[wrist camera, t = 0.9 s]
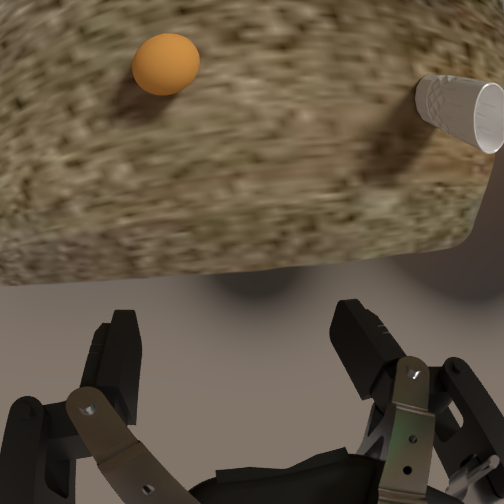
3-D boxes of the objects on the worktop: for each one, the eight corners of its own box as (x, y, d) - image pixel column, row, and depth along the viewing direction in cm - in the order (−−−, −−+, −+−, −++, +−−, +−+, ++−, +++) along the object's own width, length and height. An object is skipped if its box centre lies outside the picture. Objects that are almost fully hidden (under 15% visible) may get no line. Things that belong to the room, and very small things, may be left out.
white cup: (411, 129, 29) (471, 156, 21) (408, 67, 25) (473, 79, 17) (451, 127, 30) (507, 152, 22) (450, 72, 25) (510, 86, 17)
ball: (128, 84, 22) (115, 86, 17) (152, 31, 19) (144, 20, 15) (183, 101, 24) (182, 106, 19) (208, 49, 21) (213, 42, 17)
